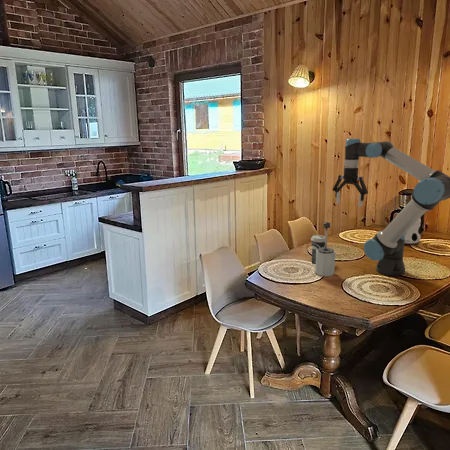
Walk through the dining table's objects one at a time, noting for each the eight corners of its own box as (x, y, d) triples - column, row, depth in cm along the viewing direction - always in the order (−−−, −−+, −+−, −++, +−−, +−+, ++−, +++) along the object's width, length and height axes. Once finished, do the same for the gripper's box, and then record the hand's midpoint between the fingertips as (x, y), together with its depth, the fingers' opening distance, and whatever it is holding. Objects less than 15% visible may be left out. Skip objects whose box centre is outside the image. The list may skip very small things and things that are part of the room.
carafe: (336, 272, 218) (337, 249, 215) (328, 277, 211) (329, 253, 208) (316, 267, 227) (317, 245, 224) (307, 272, 220) (308, 249, 217)
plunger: (334, 253, 215) (335, 222, 211) (328, 256, 211) (329, 225, 206) (323, 250, 220) (324, 220, 216) (316, 253, 215) (318, 223, 211)
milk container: (390, 243, 268) (392, 218, 264) (395, 237, 282) (397, 213, 278) (417, 247, 259) (420, 221, 254) (421, 241, 272) (424, 216, 268)
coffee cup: (326, 262, 234) (327, 239, 230) (310, 262, 236) (310, 238, 232) (325, 257, 243) (326, 234, 239) (310, 257, 245) (310, 234, 241)
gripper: (376, 168, 206) (373, 206, 212) (334, 165, 224) (332, 201, 229) (370, 169, 201) (366, 208, 207) (327, 166, 219) (325, 203, 224)
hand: (348, 204), depth 218 cm, fingers open, 13 cm apart
